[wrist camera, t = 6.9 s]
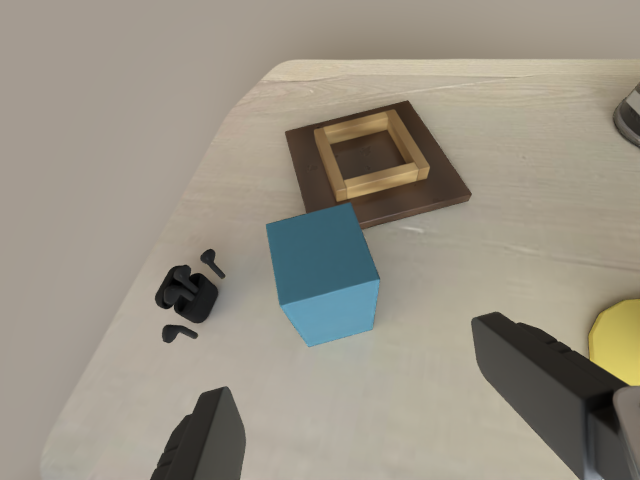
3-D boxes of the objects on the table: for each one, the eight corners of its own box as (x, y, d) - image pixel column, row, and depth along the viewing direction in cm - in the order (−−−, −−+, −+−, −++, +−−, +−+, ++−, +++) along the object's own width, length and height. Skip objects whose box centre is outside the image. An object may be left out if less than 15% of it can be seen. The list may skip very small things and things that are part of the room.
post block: (353, 271, 24) (350, 201, 16) (372, 329, 21) (380, 279, 14) (295, 286, 24) (265, 223, 16) (308, 347, 21) (279, 307, 14)
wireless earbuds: (195, 353, 22) (155, 337, 18) (167, 344, 22) (121, 327, 18) (233, 269, 25) (207, 238, 21) (207, 263, 26) (177, 232, 21)
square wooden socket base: (407, 107, 33) (410, 86, 31) (468, 201, 26) (478, 181, 24) (286, 138, 33) (281, 119, 31) (314, 242, 26) (310, 226, 24)
